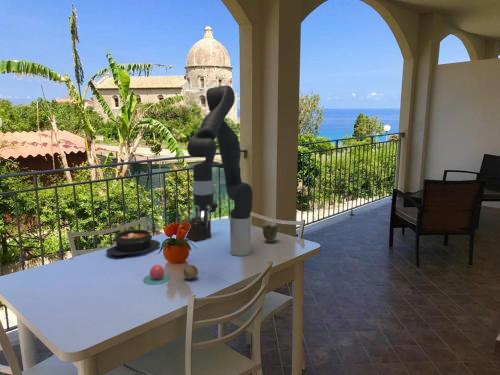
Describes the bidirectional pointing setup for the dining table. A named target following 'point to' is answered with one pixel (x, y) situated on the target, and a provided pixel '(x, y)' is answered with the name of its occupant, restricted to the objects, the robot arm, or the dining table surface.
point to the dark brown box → (195, 228)
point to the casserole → (132, 243)
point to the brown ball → (190, 272)
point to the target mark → (152, 281)
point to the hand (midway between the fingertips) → (204, 236)
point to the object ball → (157, 272)
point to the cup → (270, 233)
